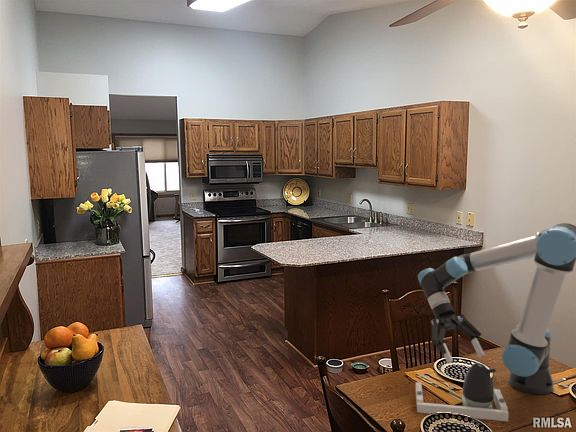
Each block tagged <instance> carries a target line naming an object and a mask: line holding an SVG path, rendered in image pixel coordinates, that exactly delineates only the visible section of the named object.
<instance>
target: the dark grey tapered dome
mask: <svg viewBox="0 0 576 432" xmlns="http://www.w3.org/2000/svg"><path fill="white" fill-rule="evenodd" d="M493 373H496V369H495V368H489V369H488V368H487V366H485V365H484V364H483V363H480V362H475V363H474V364H472V365H470V367H469V369H468V371H467V373H466V375H465V378H464V381H463V384H462V386H463V387H462V396H464V398H465V400H466V402H467V403H468V404H469V405H470V406H472V407H475V408H487V407H489V406H490V405H492V402H494V400H493V399H494V389H495V388H494V384H493V380H492V377H491V375H490V374H493Z"/></svg>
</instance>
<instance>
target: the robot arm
mask: <svg viewBox="0 0 576 432" xmlns="http://www.w3.org/2000/svg"><path fill="white" fill-rule="evenodd" d="M532 258H534V259H533V260H534V261H533V262H534V264H535V265H536V270H535V273H534V275H533V279H532V282H531V285H530V289H529V292H528V295H527V298H526V300H525V304H524V308H523V310H522V313H521V317H520V320H519V322H518V324H517V325H516V326H515V328H513V329H512V330H511V332H510V334H509V338H508V341H507V344H506V346H505V347H504V349H503V350H502V354H501V360H502V363H503V365H504V366H505V368H506V370H508V371H509V373H508V383H509V384H510V386H511V387H513V388H515V389H517V390H519V391H521V392H523V393H527V394H533V395H535V394H536V395H547V394H550V393H552V392H553V391H554V380H553V377H552V373H551V371H550V358H551V357H550V356H551V355H550V353H551V351H550V350H551V339H552V335H551V330H549V328H548V327H549V324H550V322H551V319H552V316H553V313H554V309H555V306H556V305H557V301H558V298H559V294H560V292H561V288H562V286H563V284H564V280H565V278H566V275H567V274H570V273H572V272H573V271H574V267H575V264H576V225H574V224H571V223H564V222H563V223H557V224H554V225H553V226H551V227H548V228H547V229H544V230H540V231H537V233H536V234H535V235H533V236H529V237H525V238H521V239H517V240H514V241H511V242H507V243H502V244H500V245H496V246H493V247H492V246H491V247H487V248H484V249H481V250H477V251H474V252H471V253H467V254H466V253H465V254H464V253H463V254H460V255H458V256H453V257H452V258H450V259H448V260H447V261H445V262H444V263H443V264H442V265H440V266H439V267H438V268H436V269H434V268H432V267H429V268H425V269H424V270H421V271H420V272H419V273H418V274H417V279H418V282H419V286H420V287H421V288H422V291H423V293H424V295H425V297H426V299H427V301H428V304H429V306H430V309H431V310H432V313H433V315H434V318H432V320H430V325H431V345H432V346H435V347H436V348H438V349H439V351H440V354H441V355H443V356H444V359H445V361H446V363H447V364H448V365H449V364H451V363H452V362H453V361H454V359H453V357H452V355H451V353H450V350H449V349H448V346H447V344H446V342H444V339H445V336H446V332H447V331H450V330H457V331H459V332H461V333H462V334H463V335H465V336H466V337H468V338H469V339H471V341H470V342H471V344H472V346H473V348H474V350H475V352H476V354H477V356H478V358H479V359H481V358H483V357H484V356H485V352H484V351H483V348H482V343H481V342H480V341H481V340H480V339H479V337H481V336H482V333H481V332H480V331H479V330H478V329H477V328H476V327H475V325H473V324H472V323H471V321H469V320H468V319H467V318H466V316H465V315H464V314H460V315H458V316H457V315H456V311H455V309H454V307H453V305H452V303H451V301H450V299H449V297H448V294H447V293H446V290H445V288H446V287H447V286H449V285H451V284H452V283H454V282H455V281H457V280H458V279H460V278H462V277H463V276H465V275H467V274H468V275H469V274H471V273H475V272H479V271H483V270H487V269H492V268H495V267H496V268H497V267H499V266H504V265H508V264H509V265H510V264H511V263H512V264H513V263H515V262H520V261H525V260H530V259H532ZM439 326H440V330H439V329H438V328H439ZM438 331H439V332H438ZM443 342H444V343H443Z"/></svg>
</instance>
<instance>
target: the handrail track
mask: <svg viewBox="0 0 576 432" xmlns="http://www.w3.org/2000/svg"><path fill="white" fill-rule="evenodd" d="M493 389H494V399H493V402H494V405H495V409H494V408H493V406H492V404H491V405H490V406H489V407H487V408H475V407H472V406H470V405H469V404H468V403H467V402H466V400H465V398H464V395H461V396H460V399H461V398H462V399H461V402H462V405H463V406H461V405H452V404H445V403H444V404H442V403H432V402H431V403H430V402H424V396H423V386H422V382H416V381H415V401H416V412H417V414H418V413H420V414H428V415H429V414H430V415H432V414H431V413H437V412H451V413H458V414H463V415H467V416H470V417H473V418H472V419H479V420H488V421H489V420H492V421H498V422H499V421H500V422H509V414H510V413H509V411H508V409H509V408H508V406H507V403H506V402H505V401H506V400H505V399H504V397H503V394H502V391H501V390H500V389H499V388H493Z"/></svg>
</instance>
